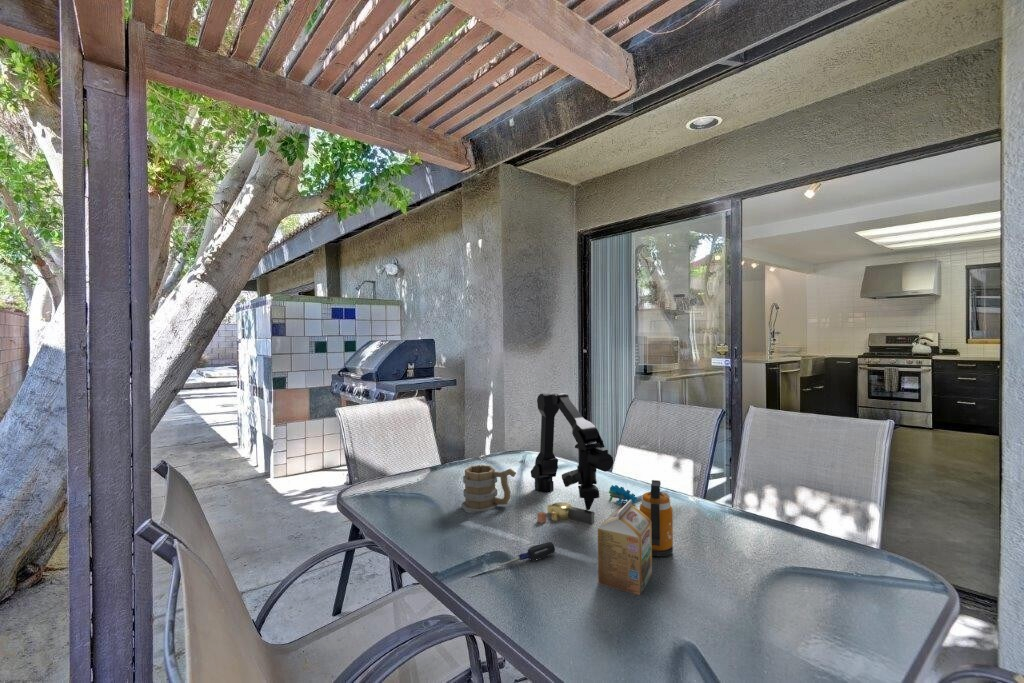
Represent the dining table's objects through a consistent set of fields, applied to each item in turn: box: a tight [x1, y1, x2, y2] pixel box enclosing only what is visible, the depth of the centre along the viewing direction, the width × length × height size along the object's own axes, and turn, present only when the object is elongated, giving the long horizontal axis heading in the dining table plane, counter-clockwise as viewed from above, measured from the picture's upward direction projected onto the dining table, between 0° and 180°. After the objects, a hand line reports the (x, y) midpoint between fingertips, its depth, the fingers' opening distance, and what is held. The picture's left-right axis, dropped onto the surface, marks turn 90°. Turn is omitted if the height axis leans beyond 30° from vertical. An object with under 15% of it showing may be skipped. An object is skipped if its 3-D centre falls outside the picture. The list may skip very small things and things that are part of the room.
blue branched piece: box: [608, 484, 638, 505], centre depth 170 cm, size 11×6×10 cm
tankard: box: [461, 464, 517, 514], centre depth 168 cm, size 20×13×15 cm, turn 68°
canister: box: [639, 479, 674, 557], centre depth 133 cm, size 9×11×20 cm
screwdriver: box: [493, 541, 556, 567], centre depth 128 cm, size 26×4×4 cm, turn 116°
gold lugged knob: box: [547, 502, 595, 525], centre depth 156 cm, size 16×10×3 cm, turn 55°
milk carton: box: [597, 500, 653, 596], centre depth 120 cm, size 11×11×19 cm
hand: (587, 509), depth 157 cm, fingers closed
